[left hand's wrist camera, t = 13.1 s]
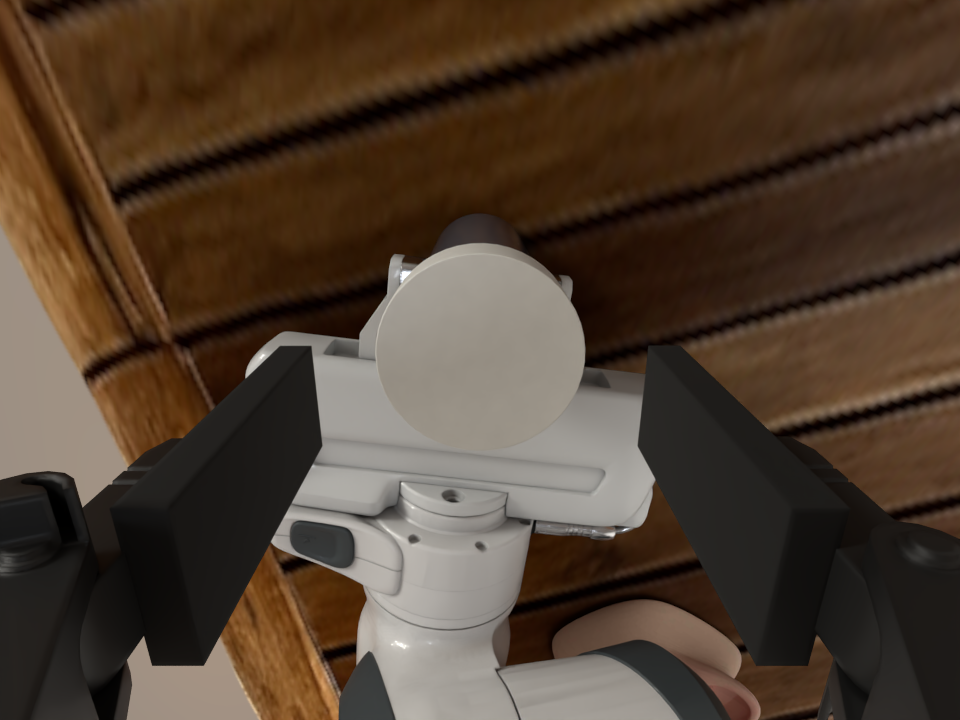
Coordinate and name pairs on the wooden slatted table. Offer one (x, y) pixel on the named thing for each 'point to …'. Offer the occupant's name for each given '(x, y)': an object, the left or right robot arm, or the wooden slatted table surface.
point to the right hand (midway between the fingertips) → (481, 266)
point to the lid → (480, 348)
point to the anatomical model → (665, 645)
